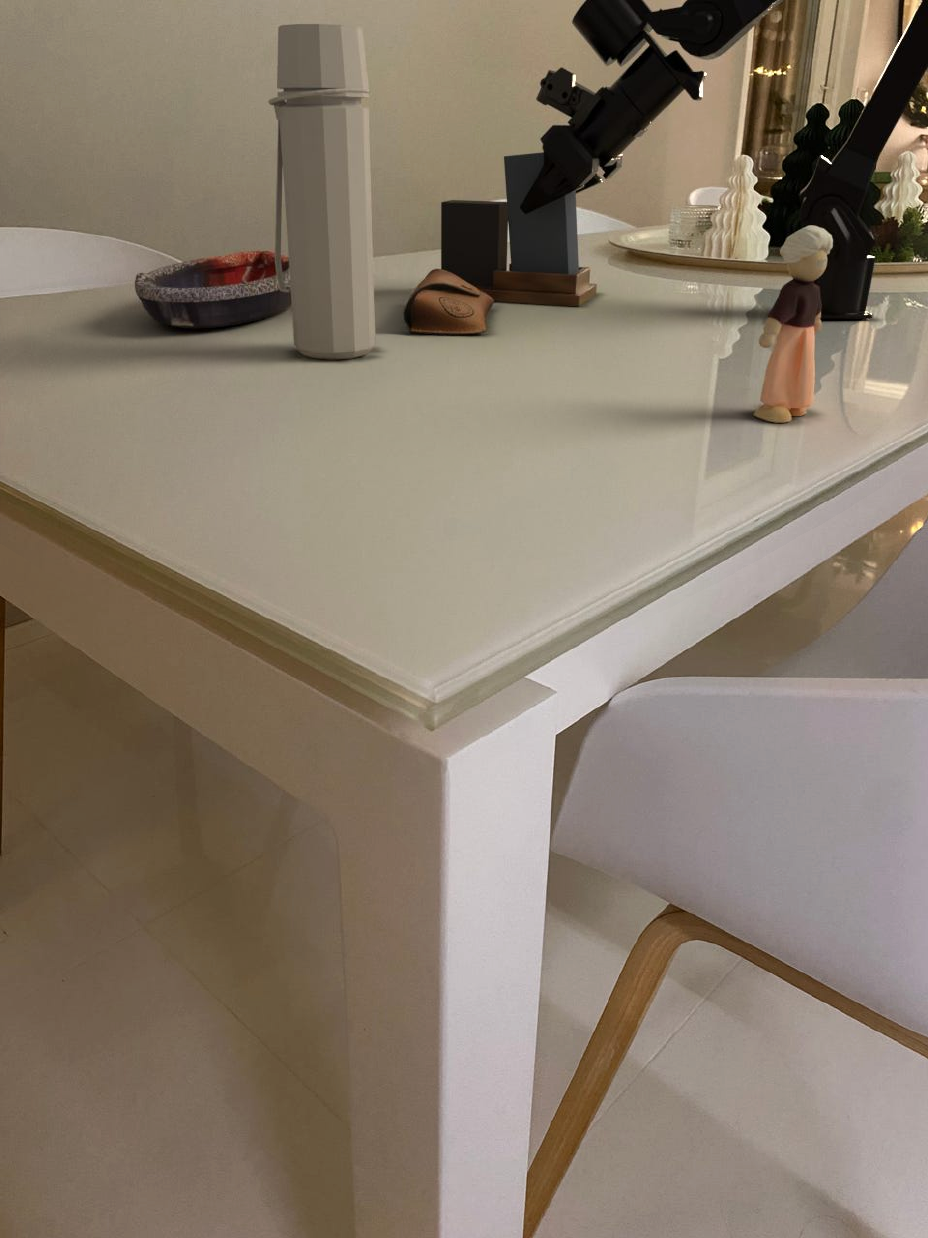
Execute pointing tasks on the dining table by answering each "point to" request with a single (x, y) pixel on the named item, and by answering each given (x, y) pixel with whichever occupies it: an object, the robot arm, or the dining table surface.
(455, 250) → the pad cradle
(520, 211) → the back pad
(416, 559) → the dining table surface
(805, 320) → the grandmother figurine
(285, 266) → the dish
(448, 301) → the sunglasses case
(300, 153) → the water bottle
